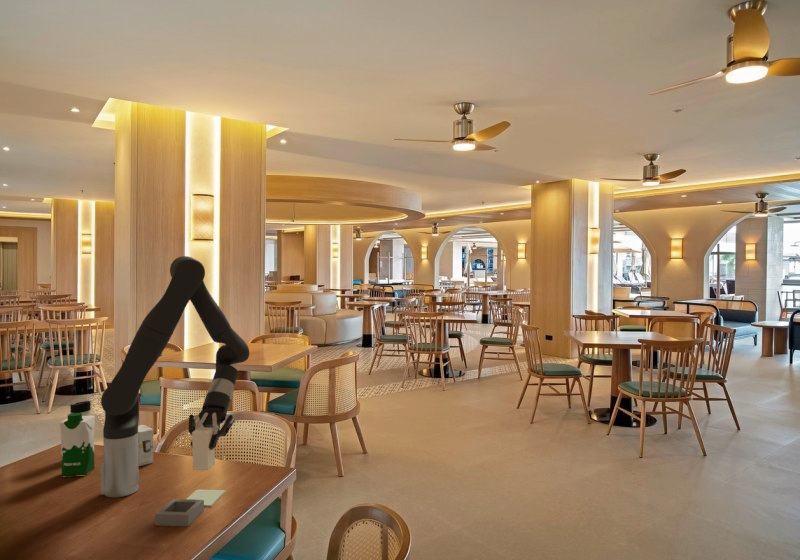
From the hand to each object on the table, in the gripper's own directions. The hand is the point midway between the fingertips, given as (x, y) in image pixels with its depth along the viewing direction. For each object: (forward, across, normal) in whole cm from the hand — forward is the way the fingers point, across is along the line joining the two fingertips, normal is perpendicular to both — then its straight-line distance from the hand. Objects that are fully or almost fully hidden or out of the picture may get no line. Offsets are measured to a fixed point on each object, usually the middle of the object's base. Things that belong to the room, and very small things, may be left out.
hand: (202, 448), depth 151 cm
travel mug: (-11, -59, +32) cm, 68 cm away
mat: (+10, 0, +11) cm, 15 cm away
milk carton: (-1, -50, +22) cm, 55 cm away
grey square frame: (+19, -1, +3) cm, 19 cm away
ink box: (-9, -35, +30) cm, 47 cm away
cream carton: (+4, 0, +5) cm, 6 cm away
